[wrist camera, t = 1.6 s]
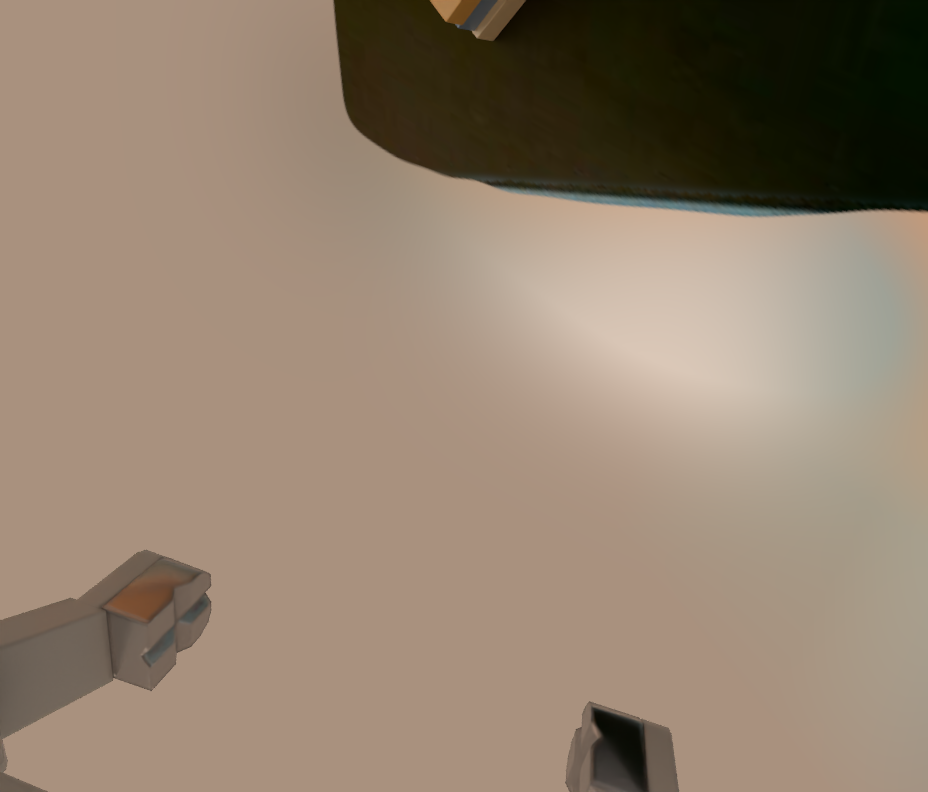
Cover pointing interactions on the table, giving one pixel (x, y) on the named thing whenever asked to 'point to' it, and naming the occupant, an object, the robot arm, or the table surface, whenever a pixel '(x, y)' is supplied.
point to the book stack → (479, 15)
